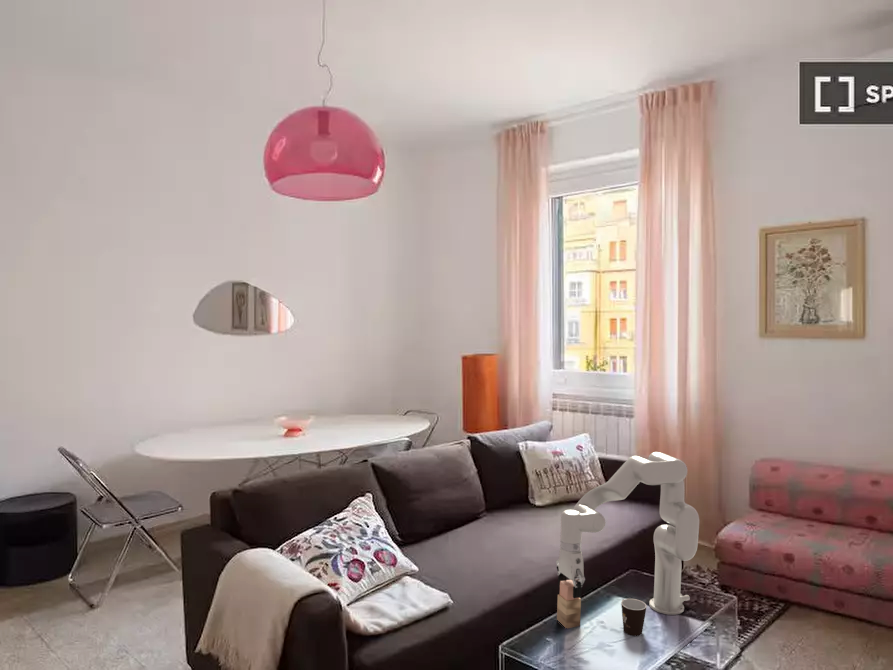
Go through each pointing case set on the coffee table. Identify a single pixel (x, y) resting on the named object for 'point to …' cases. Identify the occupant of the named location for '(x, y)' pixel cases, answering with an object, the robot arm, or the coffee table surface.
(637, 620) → the coffee mug
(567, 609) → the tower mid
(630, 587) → the coffee table surface
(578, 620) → the tower base
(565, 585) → the terracotta block
